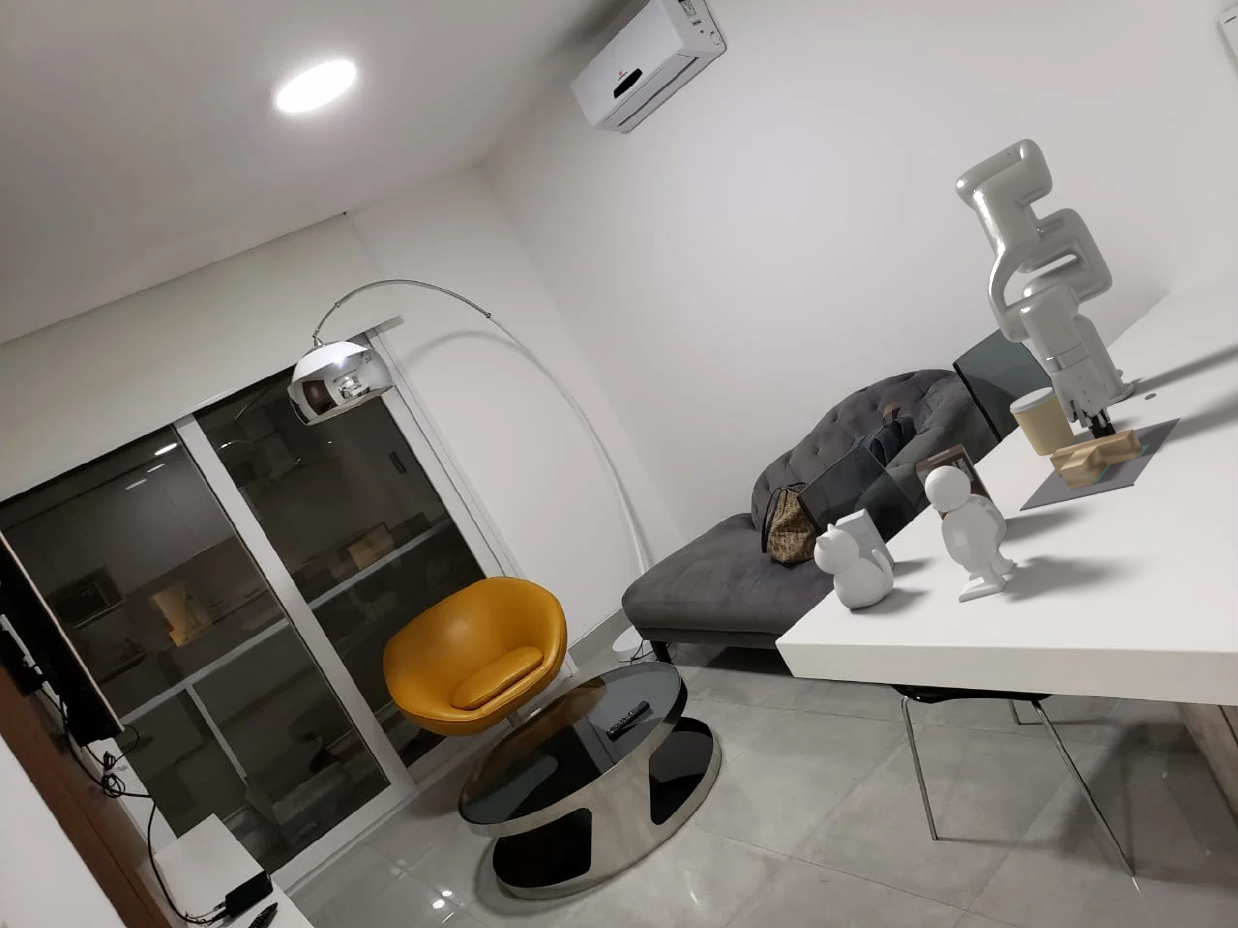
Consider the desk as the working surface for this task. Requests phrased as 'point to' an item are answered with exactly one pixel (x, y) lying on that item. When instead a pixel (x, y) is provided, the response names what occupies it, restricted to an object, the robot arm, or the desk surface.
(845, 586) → the cat figurine
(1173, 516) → the desk surface
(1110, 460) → the pine T block
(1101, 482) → the rubber mat
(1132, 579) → the desk surface
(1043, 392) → the coffee cup
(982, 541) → the white humanoid figurine
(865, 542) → the skincare box
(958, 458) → the coffee box
